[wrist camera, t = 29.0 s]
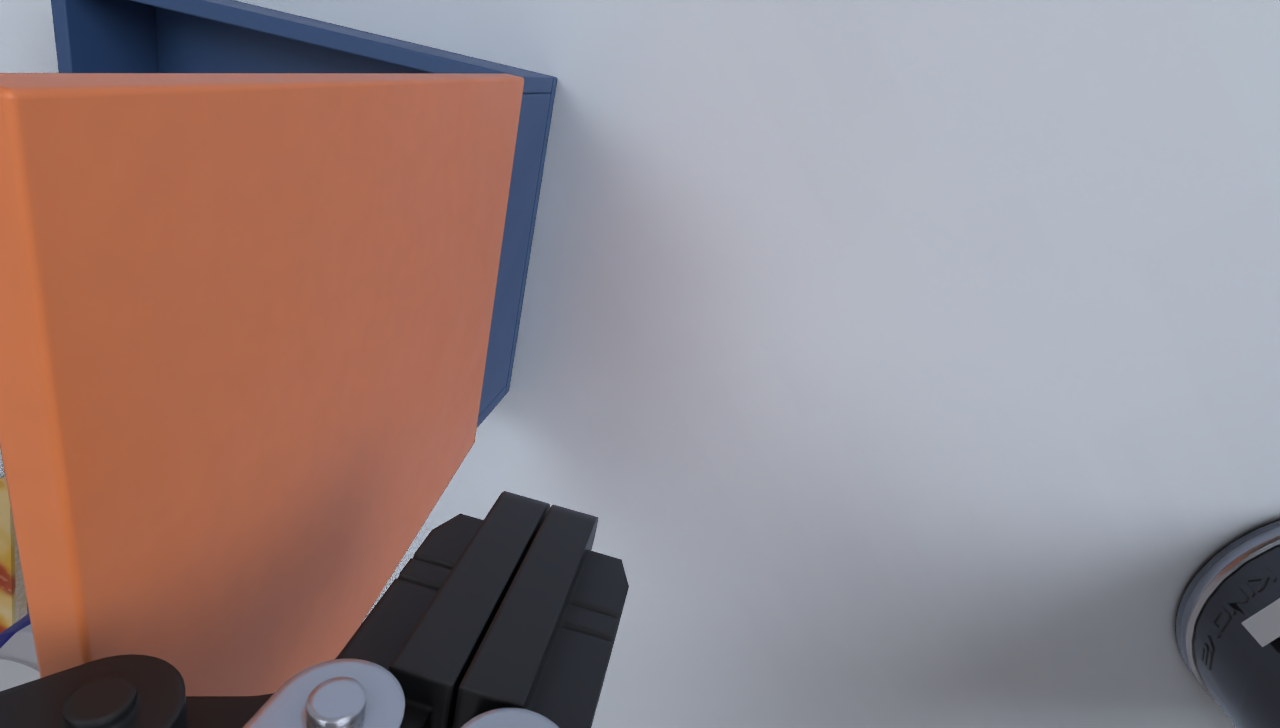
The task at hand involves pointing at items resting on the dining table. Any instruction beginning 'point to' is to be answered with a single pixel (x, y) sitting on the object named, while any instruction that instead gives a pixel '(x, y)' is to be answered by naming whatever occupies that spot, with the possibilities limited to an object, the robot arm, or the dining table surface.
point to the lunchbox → (285, 43)
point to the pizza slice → (9, 567)
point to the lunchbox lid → (238, 350)
